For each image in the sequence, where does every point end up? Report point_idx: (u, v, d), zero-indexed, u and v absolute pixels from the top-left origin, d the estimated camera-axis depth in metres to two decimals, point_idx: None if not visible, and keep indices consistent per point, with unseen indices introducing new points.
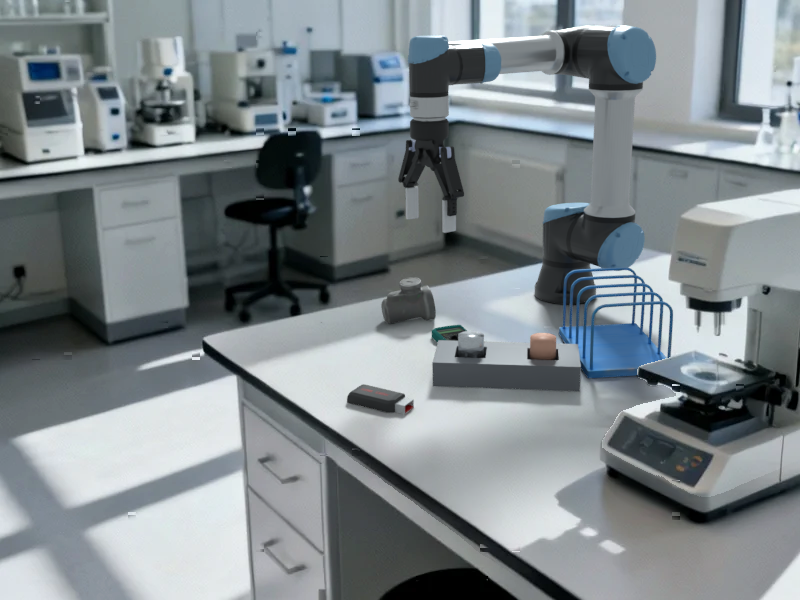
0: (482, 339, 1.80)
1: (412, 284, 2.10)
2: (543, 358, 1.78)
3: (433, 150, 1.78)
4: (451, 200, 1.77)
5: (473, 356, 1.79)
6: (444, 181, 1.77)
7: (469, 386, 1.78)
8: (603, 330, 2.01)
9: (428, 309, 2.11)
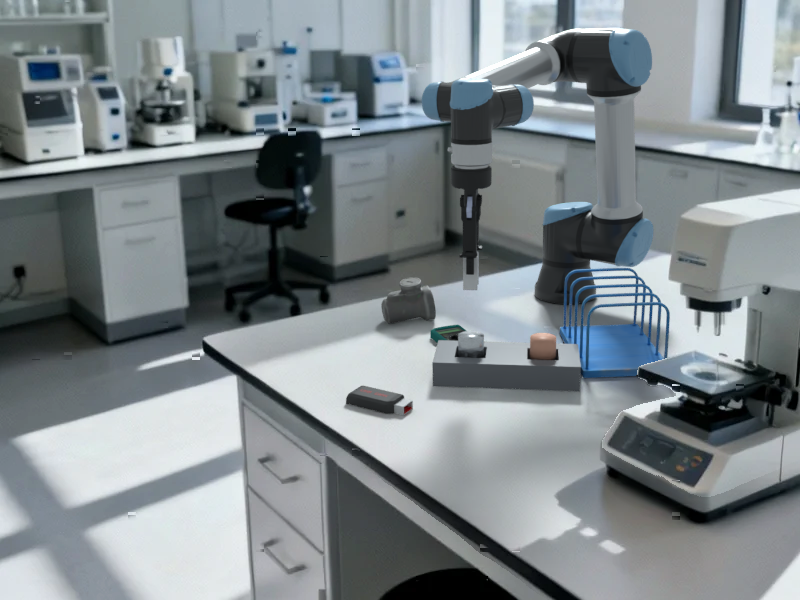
0: (482, 339, 1.80)
1: (412, 284, 2.10)
2: (543, 358, 1.78)
3: None
4: (467, 258, 1.72)
5: (473, 356, 1.79)
6: None
7: (469, 386, 1.78)
8: (604, 330, 2.01)
9: (428, 309, 2.11)
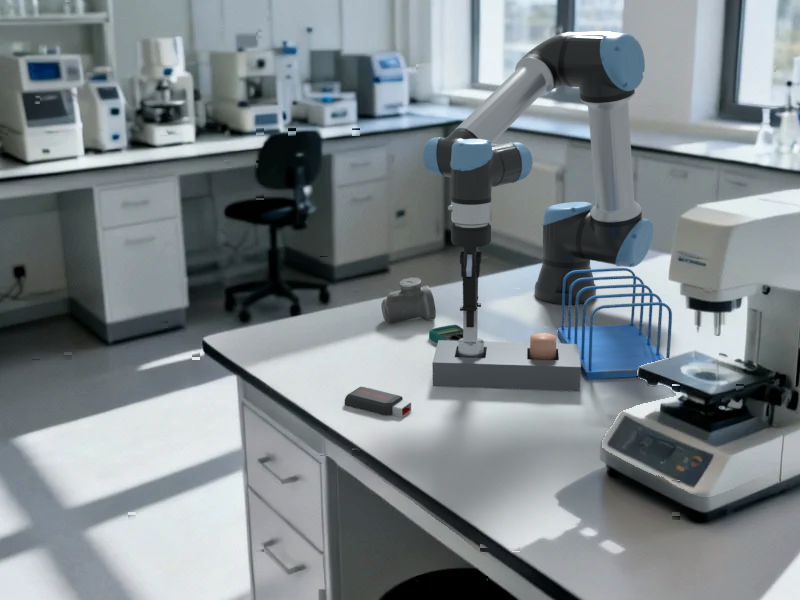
0: (482, 345, 1.80)
1: (412, 284, 2.10)
2: (543, 358, 1.78)
3: None
4: (467, 312, 1.77)
5: None
6: None
7: (469, 386, 1.78)
8: (602, 331, 2.00)
9: (428, 309, 2.11)
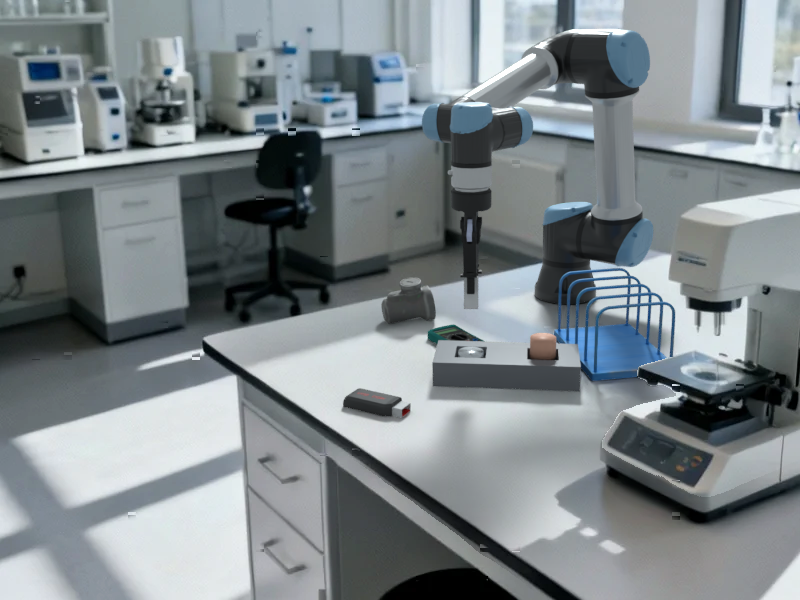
0: (482, 355, 1.81)
1: (412, 284, 2.10)
2: (543, 358, 1.78)
3: None
4: (467, 278, 1.75)
5: None
6: None
7: (469, 386, 1.78)
8: (599, 332, 2.00)
9: (428, 309, 2.11)
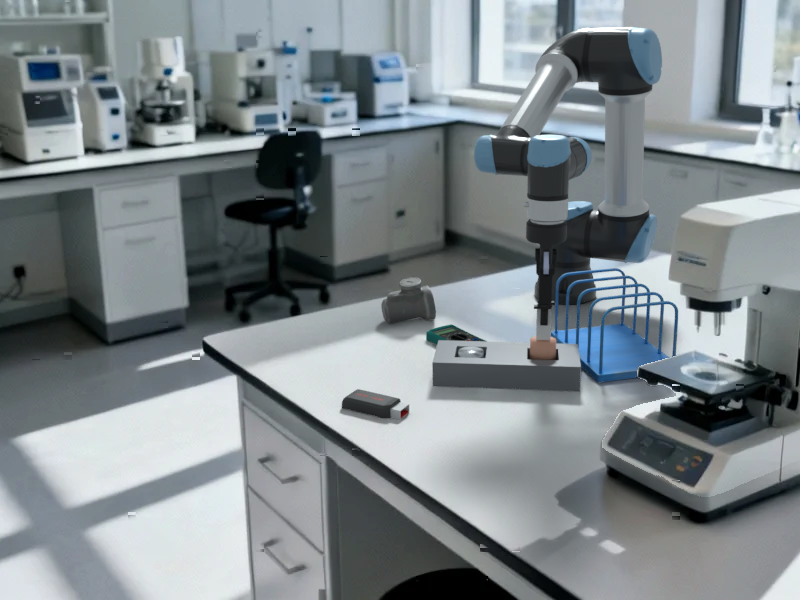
0: (482, 355, 1.81)
1: (412, 284, 2.10)
2: None
3: (540, 254, 1.71)
4: (541, 310, 1.75)
5: None
6: None
7: (469, 386, 1.78)
8: (596, 332, 2.00)
9: (428, 309, 2.11)
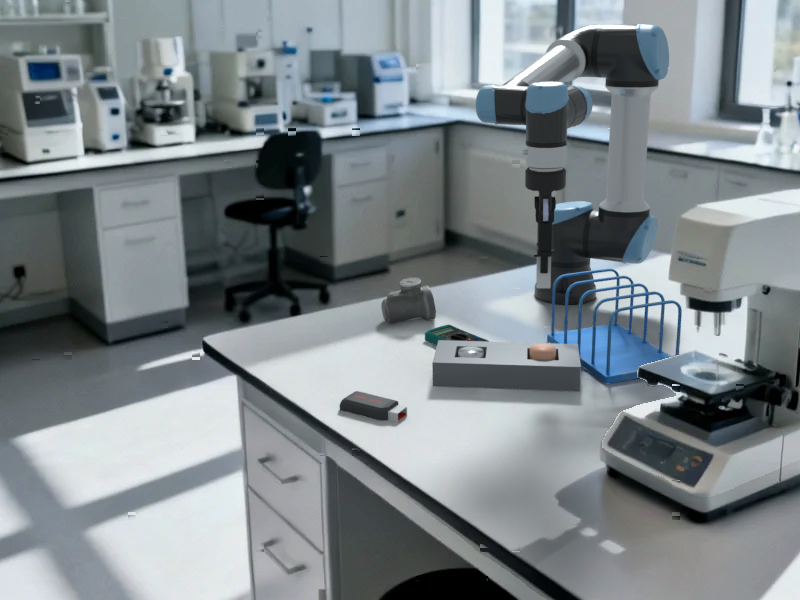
0: (482, 355, 1.81)
1: (412, 284, 2.10)
2: None
3: (539, 201, 1.72)
4: (541, 258, 1.76)
5: None
6: None
7: (469, 386, 1.78)
8: (592, 333, 1.99)
9: (428, 309, 2.11)
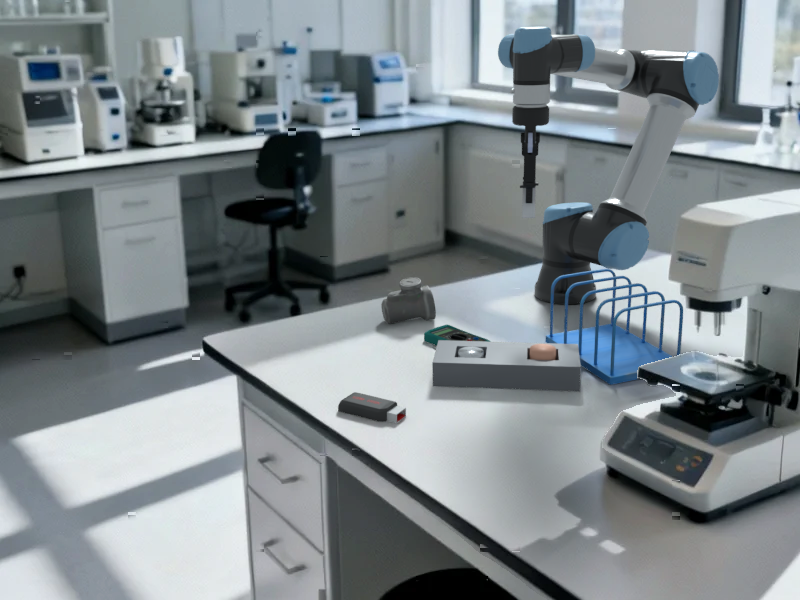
0: (482, 355, 1.81)
1: (412, 284, 2.10)
2: None
3: (524, 135, 1.89)
4: (526, 188, 1.94)
5: None
6: None
7: (469, 386, 1.78)
8: (590, 334, 1.99)
9: (428, 309, 2.11)
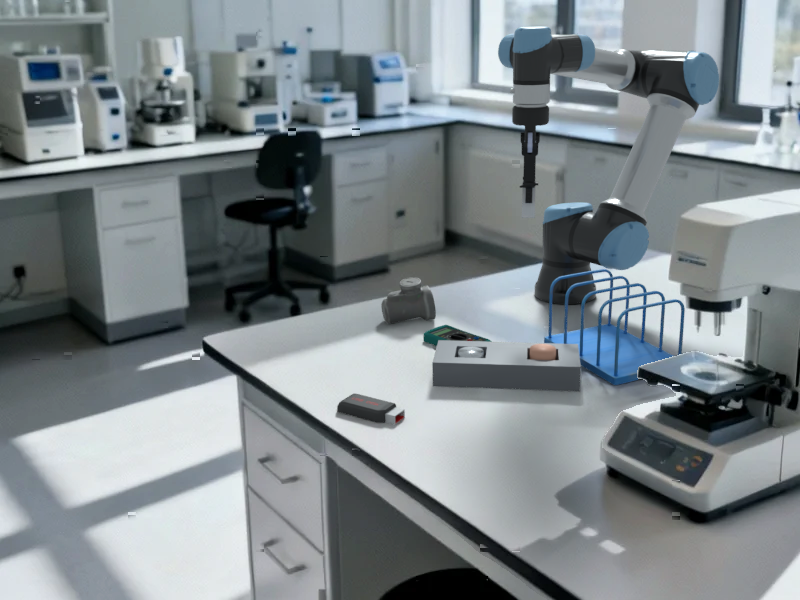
0: (482, 355, 1.81)
1: (412, 284, 2.10)
2: None
3: None
4: (526, 188, 1.94)
5: None
6: None
7: (469, 386, 1.78)
8: (588, 334, 1.99)
9: (428, 309, 2.11)
